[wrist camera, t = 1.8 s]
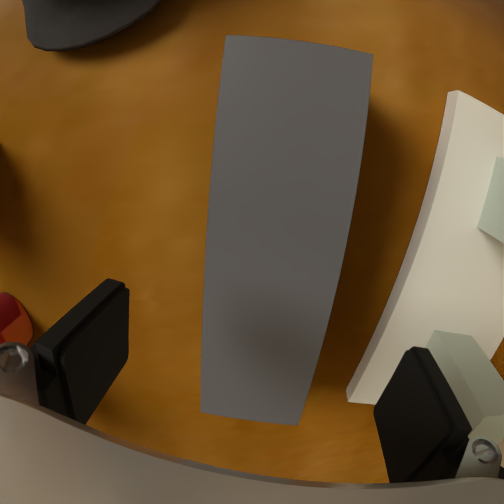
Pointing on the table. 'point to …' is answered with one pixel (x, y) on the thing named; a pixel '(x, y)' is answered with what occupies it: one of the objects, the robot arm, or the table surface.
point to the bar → (277, 219)
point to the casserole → (80, 21)
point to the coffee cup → (14, 321)
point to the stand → (452, 273)
